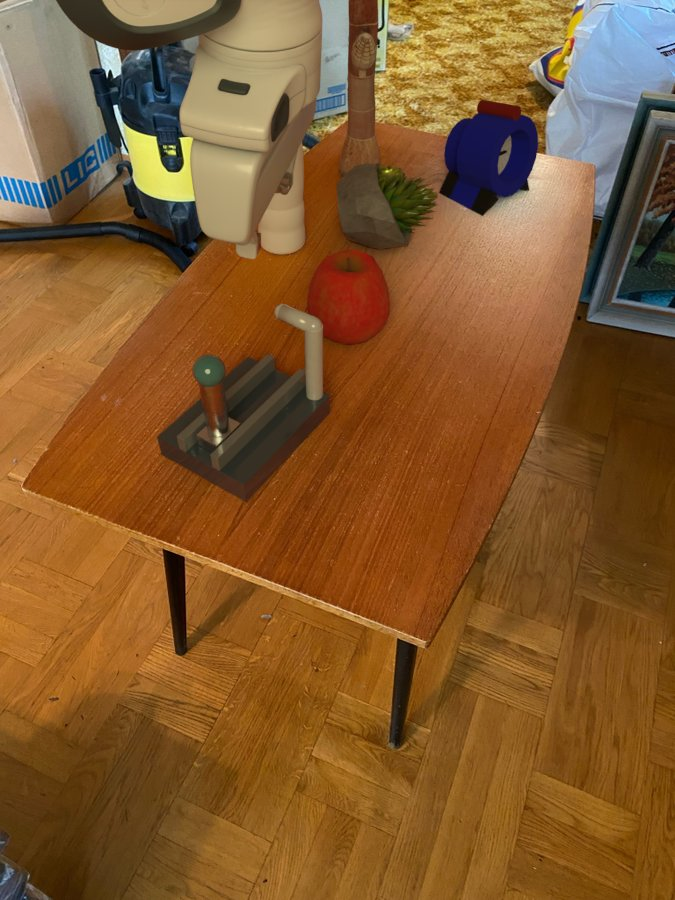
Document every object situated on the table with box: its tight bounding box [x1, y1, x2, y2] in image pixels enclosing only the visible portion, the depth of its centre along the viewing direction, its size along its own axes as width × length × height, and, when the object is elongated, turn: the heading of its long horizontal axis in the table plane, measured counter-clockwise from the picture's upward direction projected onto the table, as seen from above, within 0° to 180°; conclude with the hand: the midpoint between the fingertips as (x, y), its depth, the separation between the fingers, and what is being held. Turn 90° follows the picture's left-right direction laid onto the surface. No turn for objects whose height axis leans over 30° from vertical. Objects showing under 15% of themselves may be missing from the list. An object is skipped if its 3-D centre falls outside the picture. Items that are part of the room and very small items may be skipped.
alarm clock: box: [438, 99, 539, 217], centre depth 114 cm, size 12×12×15 cm
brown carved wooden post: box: [338, 0, 382, 178], centre depth 112 cm, size 10×7×30 cm
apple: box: [306, 249, 391, 346], centre depth 91 cm, size 11×11×11 cm
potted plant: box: [336, 163, 439, 250], centre depth 105 cm, size 12×13×15 cm
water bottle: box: [257, 141, 306, 256], centre depth 99 cm, size 7×7×25 cm
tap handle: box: [191, 353, 241, 452], centre depth 73 cm, size 3×4×12 cm
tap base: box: [156, 303, 331, 503], centre depth 77 cm, size 12×16×14 cm
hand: (266, 220), depth 64 cm, fingers open, 8 cm apart
